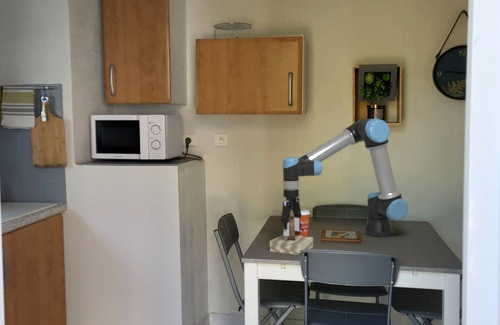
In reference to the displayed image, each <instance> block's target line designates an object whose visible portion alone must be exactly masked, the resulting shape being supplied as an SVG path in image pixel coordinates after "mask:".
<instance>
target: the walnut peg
mask: <svg viewBox="0 0 500 325" xmlns="http://www.w3.org/2000/svg"><path fill="white" fill-rule="evenodd" d="M288 223H289V236H288V240H291V241H295V235H296V234H295V233H296V231H295V223H294V218H289V221H288Z"/></svg>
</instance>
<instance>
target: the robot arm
mask: <svg viewBox="0 0 500 325" xmlns="http://www.w3.org/2000/svg"><path fill="white" fill-rule="evenodd" d="M390 135H391V129H390V126H389V124H388V123H387V122H386V121H385V120H383V119H379V118H362V119H359V120H357V121H355V122H354V123H352V124H350V125H349V126H347V127H345V128H344V129H343V130H342V132H341V133H339V134H337V135H336V136H334V137H333V138H331V139H329V140H327V141H326V142H324V143H322V144H321V145H319V146H317V147H315V148H314V149H312V150H310V151H309V152H307V153H305V154H304V155H302V156H301V157H297V156H296V157H294V156H293V157H290V156H289V157H284V158H283V160H282V176H283V178H282V179H283V180H282V185H283V186H282V188H283V190H282V191H283V192H282V193H283V198H285V201H282V208H281V209H282V210H281V217H280V223H283V228H282V230H283V234H284V236H289V223H288V221H289V219H290V216H291V212H292V213H293V219H294V223H295V232H296V231H299V218H301V210H302V209H301V204H300V190H299V187H300V180H299V178H300V177H312V176H313V177H316V176H320V175H321V174H322V172H323V164H322V162H323V161H325V160H327V159H328V158H330V157H331V156H333V155H335V154H337V153H338V152H340V151H342V150H344V149H346V147H348V146H350V145H351V146H354V145H356V144H357V143H361V142H364V146H365V148H366V149H367V150H369V154H370V157H371V162H372V166H373V170H374V173H375V178H376V182H377V187H378V190H379V192H378V191H376V192H375V191H373V192H370V193H368V194H367V221H366V223H365V226H364V231H363V232H364V234H365V235H367V236H371V237H390V236H393V234H394V232H393V231H394V230H393V227H392V226H393V225H392V224H391V221H393V222H394V221H395V222H397V221H401V220H403V219H404V218H405V217H406V216H407V214H408V212H409V205H408V202H407V201H406V200H405V199H403V197H402V192H401V191H400V190H398V189H397V185H396V181H395V176H394V172H393V168H392V165H391V160H390V156H389V153H388V148H387V146H388V144H389V140H388V139H389V136H390Z"/></svg>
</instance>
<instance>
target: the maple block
mask: <svg viewBox="0 0 500 325" xmlns="http://www.w3.org/2000/svg"><path fill="white" fill-rule="evenodd" d="M313 248H314V237H313V236H308V237H306V236H297V234H295V241H291V240H288V236H284V233H283V234H282V235H280V236H277V237H275V238H273V239H271V240H269V251H270V252H273V253H282V254H288V255H296V256H297V255H298V256H300V255H299V253H300V251H301V250H305V249H309V250H311V249H313Z"/></svg>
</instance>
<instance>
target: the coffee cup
mask: <svg viewBox="0 0 500 325" xmlns="http://www.w3.org/2000/svg"><path fill="white" fill-rule="evenodd" d="M300 210H301V218H299V231H295V233H296V235H297V236H306V237H309V235H310V234H309V233H310V232H309V229H310V215H311V213H310V210H309V209H300Z"/></svg>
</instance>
